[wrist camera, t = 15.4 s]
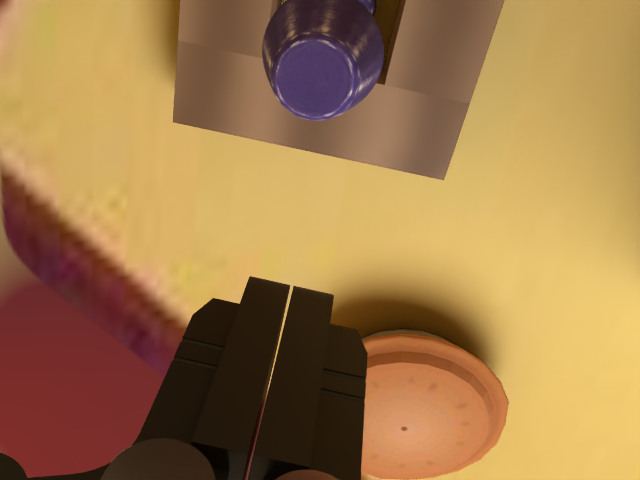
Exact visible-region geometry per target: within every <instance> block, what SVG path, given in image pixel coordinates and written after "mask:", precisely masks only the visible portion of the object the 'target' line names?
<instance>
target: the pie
mask: <svg viewBox="0 0 640 480" xmlns="http://www.w3.org/2000/svg"><path fill="white" fill-rule="evenodd" d="M361 340H362V342H363V344H364V346H365V348H366V351H367V353H368V358H367V376H366V393H365V401H364V403H365V411H364V429H363V446H362V464H361V472H363V473H366V474H369V475H372V476H375V477H378V478H382V479H402V480H410V479H423V478H433V477H437V476H441V475H444V474H448V473H452V472H455V471H459V470H461V469H463V468H465V467H467V466H469V465H470V464H472V463H474V462H476V461H478V460H480V459H481V458H482V457H483V456H484V455H485V454H486V453H487V452H488V451H489V450H490V449H491V448H493V447H494V446H495V445H496V444H497V442H498V440H499V437H500V435H501V433H502V431H503V428H504V426H505V423H506V416H507V410H508V403H509V402H508V399H507V397H506V394H505V391H504V389H503V386H502V384H501V382H500V380H499V379H498V378H497V377H496V376H495V374H494V373H493V372H492V371H491V370H490V368H489V367H488V366H487V365H486V364H485V362H483V361H482V360H480V359H478V358H477V357H475V356H474V355H472V354H470V353H469V352H467V351H465V350H464V349H462V348H461V347H459V346H456V345H454V344H452V343H451V342H449V341H447V340H446V339H444V338H443V337H441V336H437V335H434V334H431V333H428V332H425V331H422V330H410V329H394V330H387V331H380V332H377V333H375V334H372V335H369V336H367V337H364V338H362V339H361Z"/></svg>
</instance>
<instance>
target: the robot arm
mask: <svg viewBox="0 0 640 480" xmlns="http://www.w3.org/2000/svg"><path fill="white" fill-rule="evenodd" d="M289 289H290V285H287V284H282V283H278V282H274V281H269V280H265V279H260V278H256V277H251V276H250V277H249V280H248V282H247V285H246V288H245V291H244V294H243V296H242V299H241V302H240V304H238V303H233V302H229V301H224V300H220V299H215V298H213V299H212V300H210V301H209V302H208V303H207V304H205V305H204V306H203V307H202V308H200V309H199V310H198V311H197V312H196V313H194V314H193V315H192V318H191V320H190V322H189V324H188V327H187V329H186V331H185V333H184V336H183V339H182V342H180V345H179V347H178V349H177V351H176V353H175V356H174V360H173V361H172V362H171V365H170V367H169V369H168V371H167V374H166V376H165V378H164V380H163V383H162V385H161V387H160V390H159V392H158V394H157V396H156V398H155V400H154V403H153V405H152V407H151V409H150V412H149V414H148V416H147V418H146V421H145V423H144V425H143V427H142V429H141V432H140V434H139V435H138V437H137V439H136V441H135V442H134V443H133V444H132V446H130V447H129V448H127V449H125V450H124V451H122V452H121V453H120V454H118V455H117V456H116V457H115V458H114V459H113V461H111V462H110V463H108V464H107V465H105V466H102V467H100V468H97V469H95V470H91V471H88V472H84V473H78V474H70V475H57V476H47V477H46V476H45V477H34V478H27V476H26V474H25V472H24V470H23V468H22V467H21V466H20V465H19V463H18V462H16V461H15V460H14V459H12V458H11V457H9V456H7V455H5V454H3V453H0V480H245V479H246V475H247V471H248V467H249V463H250V458H251V455H252V450H253V446H254V442H255V438H256V434H257V430H258V426H259V422H260V417H261V413H262V409H263V405H264V401H265V397H266V393H267V389H268V385H269V380H270V376H271V372H272V368H273V363H274V359H275V354H276V350H277V345H278V340H279V336H280V331H281V327H282V322H283V317H284V313H285V308H286V303H287V299H288V294H289ZM333 298H334V295H332V294H328V293H323V292H319V291H314V290H310V289H306V288H301V287H297V286H294V287H293V291H292V295H291V299H290V304H289V308H288V312H287V316H286V320H285V324H284V329H283V333H282V337H281V341H280V345H279V349H278V354H277V358H276V362H275V366H274V370H273V374H272V379H271V383H270V387H269V391H268V395H267V399H266V404H265V408H264V412H263V416H262V420H261V424H260V429H259V433H258V437H257V441H256V445H255V449H254V454H253V458H252V463H251V468H250V472H249V477H248V480H361V464H362V446H363V429H364V411H365V403H364V401H365V393H366V376H367V358H368V353H367V351H366V348H365V346H364V344H363V342H362V340H361V337H360V335H359V333H358V331H357V330H355V329H350V328H346V327H341V326H337V325H332V324H330V319H331V312H332V305H333Z"/></svg>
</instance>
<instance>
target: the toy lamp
mask: <svg viewBox="0 0 640 480" xmlns="http://www.w3.org/2000/svg"><path fill="white" fill-rule="evenodd" d="M375 9H376V0H287V1H286V2H284V3H283V4H282V5H281V6H280V7H279V8H278V9H277V11H276V12H275V13H274V15H273V16H272V18H271V19H270V21H269V23H268V26H267V28H266V31H265V34H264V38H263V44H262V58H263V65H264V68H265V72H266V75H267V78H268V81H269V83H270V85H271V88H272V90H273V92H274V94H275V96H276V98H277V99H278V101H279V102H280V103H281V104H282V105H283V106H284V107H285V108H286V109H287V110H288V111H289V112H290V113H292V114H294V115H295V116H298V117H300V118H303V119H307V120H312V121H320V120H327V119H331V118H334V117H336V116H339V115H341V114H343V113H344V112H346V111H348V110H349V109H351V108H353V107H354V106H356V105H357V104H358V103H360V102H361V101H362V100H363V99H364V98H365V97H366V96H367V95H368V94H369V93H370V91H371V90H372V89H373V87H374V86H375V84H376V82H377V80H378V78H379V76H380V73H381V70H382V65H383V60H384V45H383V38H382V35H381V31H380V29H379V26H378V24H377V22H376V20H375V19H374V17H373V15H374V13H375Z"/></svg>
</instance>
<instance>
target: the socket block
mask: <svg viewBox="0 0 640 480" xmlns="http://www.w3.org/2000/svg"><path fill="white" fill-rule="evenodd" d="M281 1H282V0H180V13H179V30H178V46H177V62H176V78H175V95H174V111H173V122H175V123H179V124H184V125H189V126H193V127H198V128H203V129H207V130H212V131H217V132H221V133H226V134H231V135H235V136H240V137H245V138H249V139H254V140H259V141H263V142H268V143H273V144H277V145H282V146H287V147H291V148H296V149H301V150H305V151H310V152H315V153H319V154H324V155H329V156H333V157H338V158H343V159H347V160H352V161H357V162H361V163H366V164H371V165H375V166H380V167H385V168H389V169H394V170H399V171H403V172H408V173H413V174H417V175H422V176H427V177H431V178H436V179H441V180H444V178H445V175H446V172H447V170H448V167H449V164H450V161H451V158H452V155H453V152H454V149H455V146H456V143H457V140H458V137H459V134H460V131H461V128H462V125H463V122H464V119H465V116H466V113H467V110H468V107H469V104H470V101H471V98H472V95H473V92H474V89H475V86H476V83H477V80H478V77H479V74H480V71H481V68H482V65H483V63H484V60H485V57H486V54H487V51H488V48H489V45H490V42H491V39H492V36H493V33H494V30H495V27H496V24H497V21H498V18H499V15H500V12H501V9H502V6H503V3H504V0H401V1H400V5H399V9H398V13H397V17H396V21H395V25H394V29H393V33H392V37H391V41H390V45H389V49H388V53H387V57H386V61H385V64H383V65H382V70H381V73H380V76H379V78H378V80H377V82H376V84H375V86H374V87H373V89H372V90H371V91H370V93H369V94H368V95H367V96H366V97H365V98H364V99H363V100H362V101H361V102H360V103H358V104H357V105H356V106H354V107H353V108H351V109H349V110H348V111H346V112H344V113H343V114H341V115H339V116H336V117H334V118H331V119H327V120H320V121H312V120H307V119H303V118H300V117H298V116H295V115H294V114H292V113H290V112H289V111H288V110H287V109H286V108H285V107H284V106H283V105H282V104H281V103H280V102H279V101H278V99H277V98H276V96H275V94H274V92H273V90H272V88H271V85H270V83H269V81H268V78H267V75H266V72H265V68H264V65H263V58H262V44H263V38H264V34H265V31H266V28H267V26H268V23H269V21H270V19H271V18H272V16H273V15H274V13H275V12H276V11H277V9H278V8H279V7H280V6H281Z"/></svg>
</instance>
